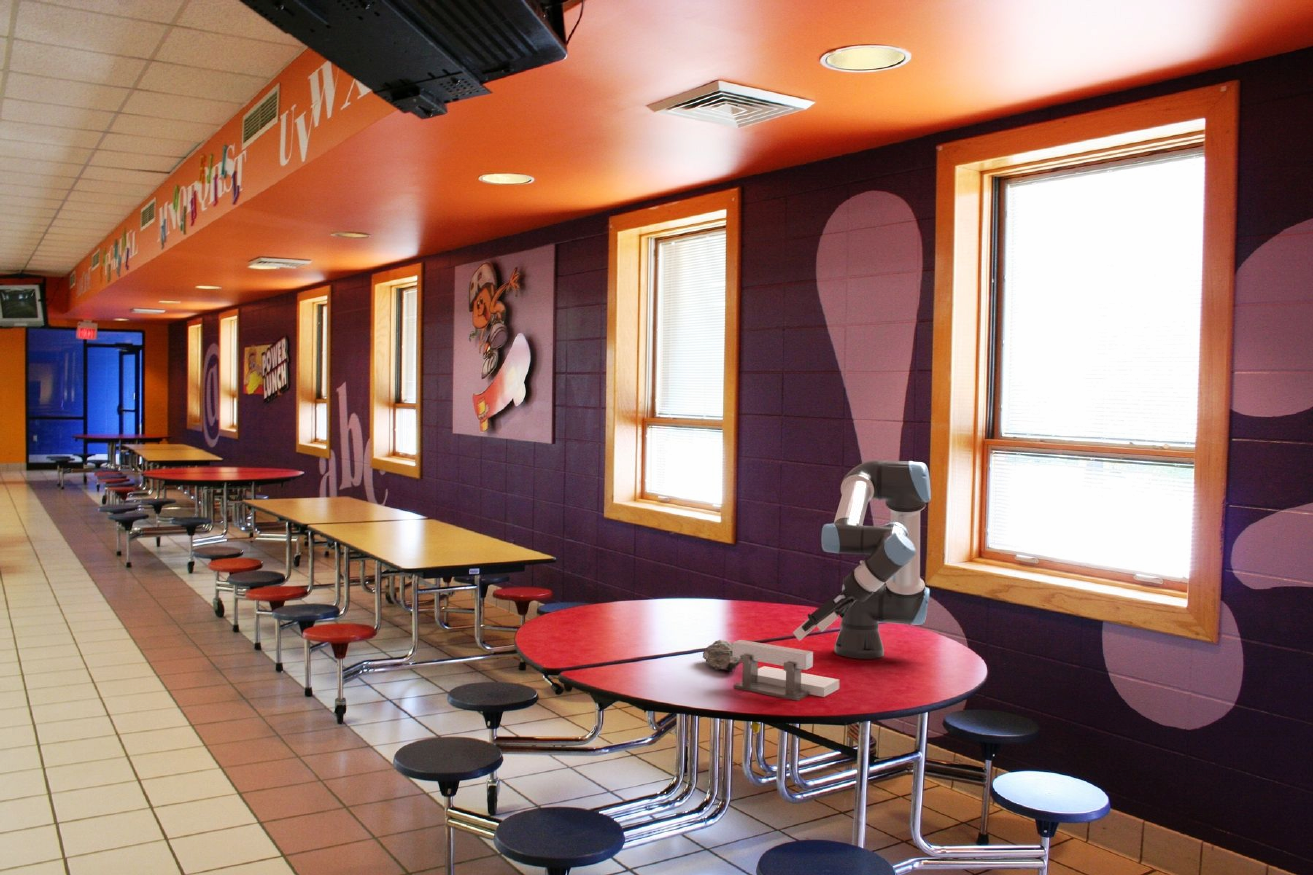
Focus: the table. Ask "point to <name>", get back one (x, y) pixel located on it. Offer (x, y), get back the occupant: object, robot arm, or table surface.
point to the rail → (773, 654)
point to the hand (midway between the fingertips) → (807, 632)
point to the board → (808, 681)
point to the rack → (752, 685)
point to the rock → (721, 655)
